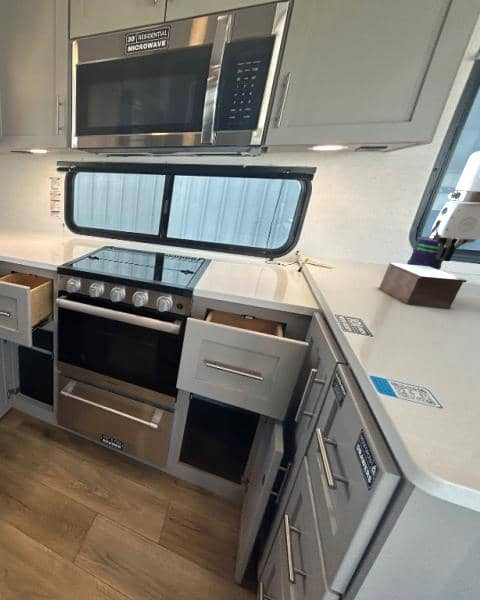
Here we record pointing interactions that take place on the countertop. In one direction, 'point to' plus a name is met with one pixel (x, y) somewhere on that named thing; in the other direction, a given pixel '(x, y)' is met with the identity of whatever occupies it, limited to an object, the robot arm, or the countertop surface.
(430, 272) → the lid
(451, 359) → the countertop surface
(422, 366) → the countertop surface
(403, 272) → the chest
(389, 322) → the countertop surface
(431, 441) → the countertop surface
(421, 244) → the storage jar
